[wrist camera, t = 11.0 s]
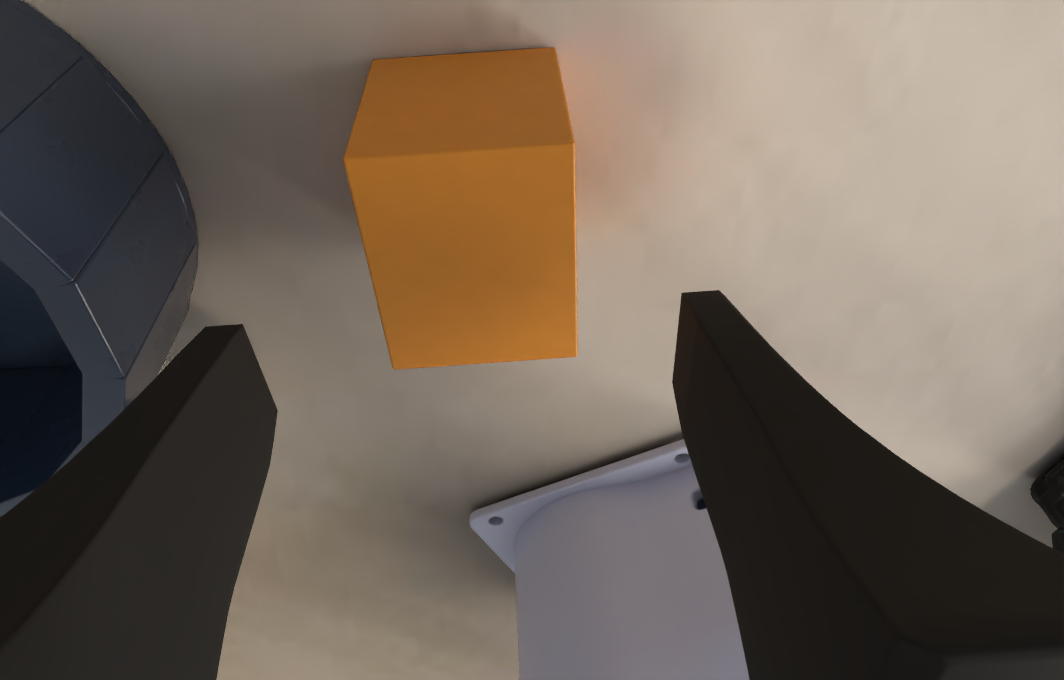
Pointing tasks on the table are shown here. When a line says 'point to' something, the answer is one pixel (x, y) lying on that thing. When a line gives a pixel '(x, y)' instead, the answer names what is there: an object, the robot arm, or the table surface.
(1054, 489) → the game console
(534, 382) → the table surface
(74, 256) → the pot
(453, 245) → the orange block
